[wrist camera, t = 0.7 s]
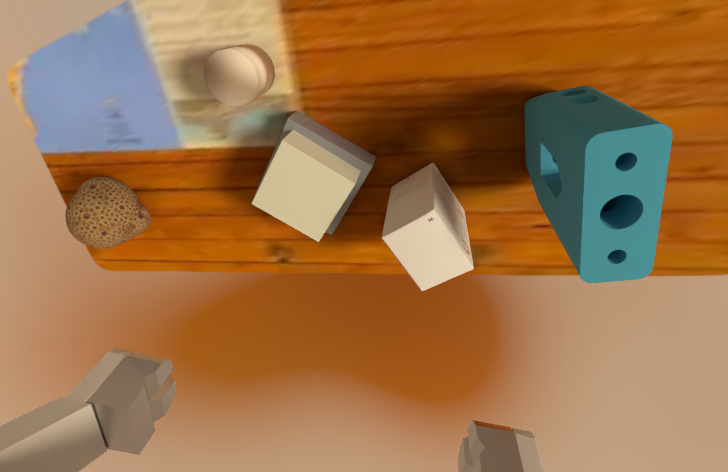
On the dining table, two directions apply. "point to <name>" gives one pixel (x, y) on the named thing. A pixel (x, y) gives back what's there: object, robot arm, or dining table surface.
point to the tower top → (305, 185)
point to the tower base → (336, 147)
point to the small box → (427, 229)
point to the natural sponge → (106, 213)
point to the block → (598, 179)
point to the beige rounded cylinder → (239, 74)
